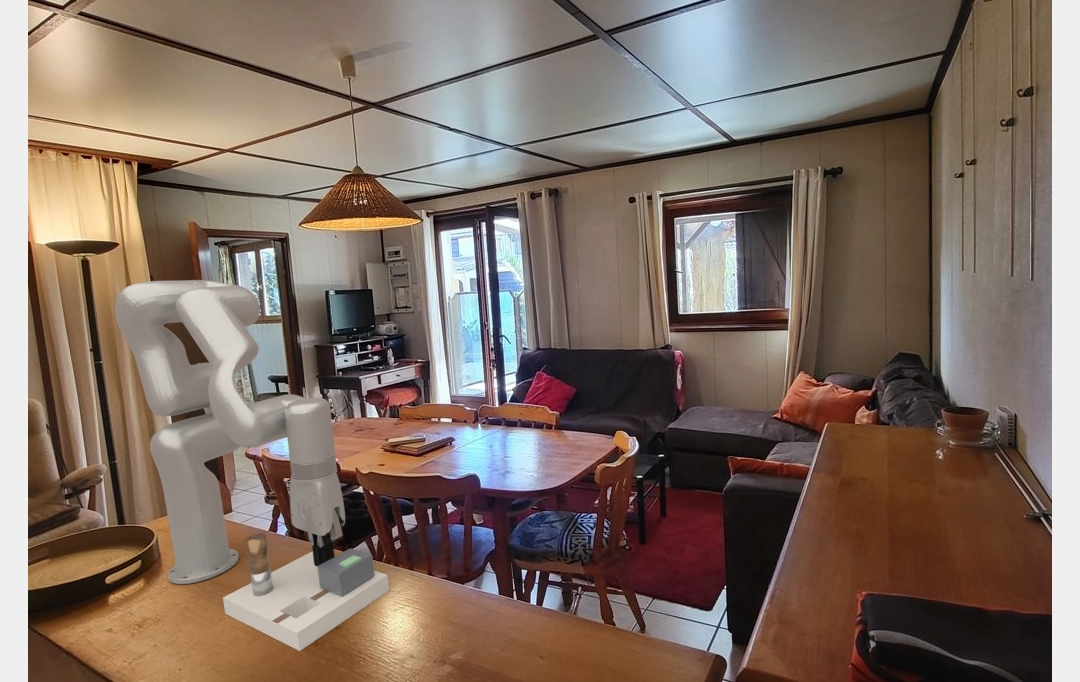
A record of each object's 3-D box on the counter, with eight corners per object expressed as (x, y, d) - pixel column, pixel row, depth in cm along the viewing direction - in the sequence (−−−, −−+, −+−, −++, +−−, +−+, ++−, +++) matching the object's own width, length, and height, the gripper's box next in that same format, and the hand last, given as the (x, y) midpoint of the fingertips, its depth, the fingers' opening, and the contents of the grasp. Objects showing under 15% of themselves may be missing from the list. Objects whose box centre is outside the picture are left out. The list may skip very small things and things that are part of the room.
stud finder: (320, 587, 95) (317, 564, 94) (353, 568, 101) (350, 546, 100) (342, 596, 91) (338, 571, 91) (374, 575, 97) (371, 552, 97)
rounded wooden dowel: (249, 593, 95) (241, 539, 94) (266, 584, 98) (259, 532, 97) (259, 598, 93) (251, 543, 92) (277, 588, 96) (269, 535, 95)
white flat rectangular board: (225, 613, 95) (222, 597, 95) (315, 564, 110) (313, 550, 110) (299, 651, 83) (297, 632, 83) (389, 590, 98) (387, 574, 98)
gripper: (270, 468, 98) (281, 563, 100) (321, 481, 90) (332, 584, 92) (307, 455, 104) (317, 545, 106) (358, 466, 96) (368, 563, 98)
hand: (324, 563), depth 99 cm, fingers closed
